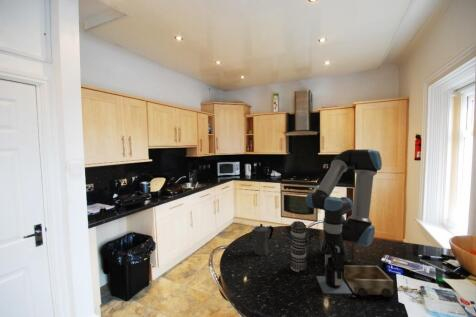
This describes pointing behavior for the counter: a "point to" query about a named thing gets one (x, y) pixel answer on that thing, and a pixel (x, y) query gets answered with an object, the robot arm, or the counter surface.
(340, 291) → the grey square plate
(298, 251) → the decorative candle
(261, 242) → the coffeepot
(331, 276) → the supplement bottle
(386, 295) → the truck bed
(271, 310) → the counter surface
